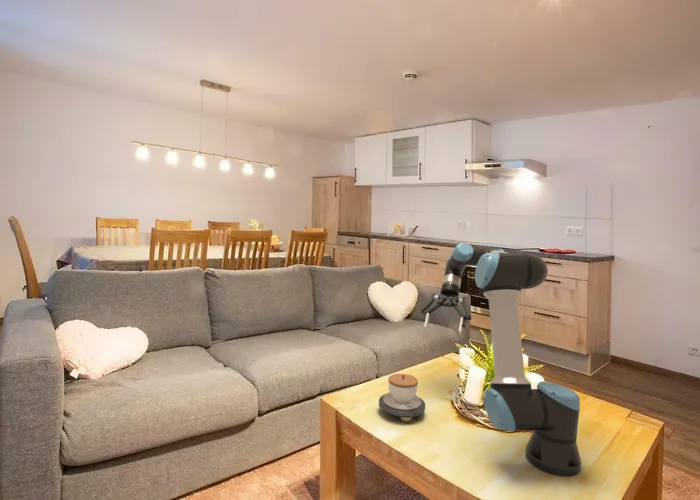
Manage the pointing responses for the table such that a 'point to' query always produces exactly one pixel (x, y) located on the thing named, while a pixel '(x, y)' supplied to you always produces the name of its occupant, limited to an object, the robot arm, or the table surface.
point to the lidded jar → (402, 387)
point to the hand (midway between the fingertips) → (442, 330)
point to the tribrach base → (402, 407)
